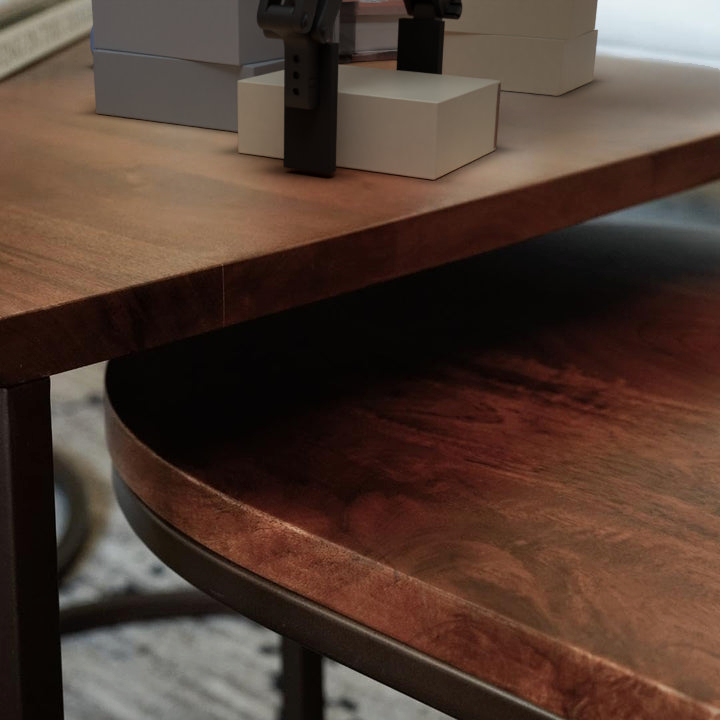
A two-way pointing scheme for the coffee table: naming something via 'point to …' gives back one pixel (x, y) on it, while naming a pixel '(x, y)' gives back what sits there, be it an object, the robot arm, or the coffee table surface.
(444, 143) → the cream box
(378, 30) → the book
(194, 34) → the grey stack
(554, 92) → the cream stack
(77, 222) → the coffee table surface
